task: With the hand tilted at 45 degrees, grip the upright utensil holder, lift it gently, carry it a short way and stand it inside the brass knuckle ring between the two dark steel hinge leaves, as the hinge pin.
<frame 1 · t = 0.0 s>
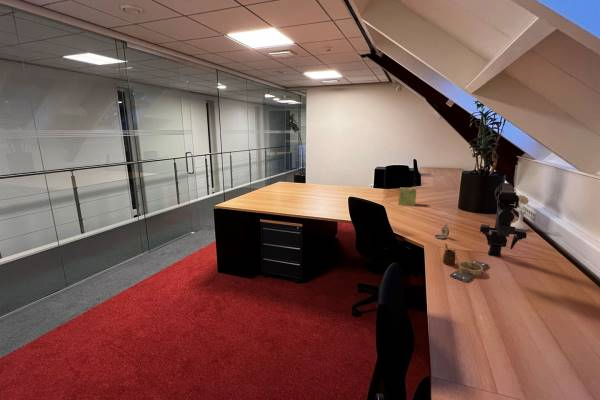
hand: (499, 247, 148), 15 cm above the table, tool pointing down, fingers open, 9 cm apart
flower in vase: (518, 229, 219), on the table
pocket watch: (441, 237, 202), on the table
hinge: (469, 271, 155), on the table
protein box: (406, 204, 292), on the table
utensil holder: (448, 263, 164), on the table
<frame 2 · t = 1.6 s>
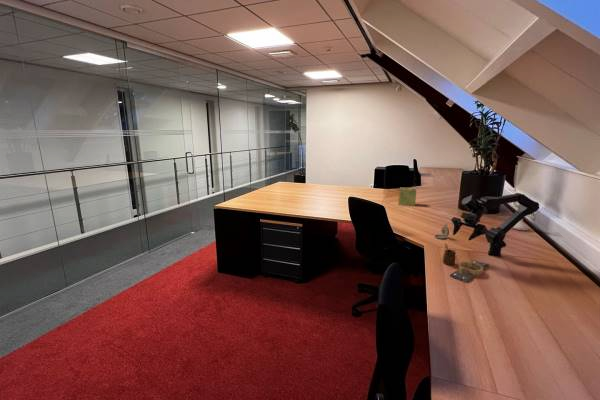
hand: (460, 237, 165), 13 cm above the table, tool tilted 45°, fingers open, 9 cm apart
nothing on the table moved.
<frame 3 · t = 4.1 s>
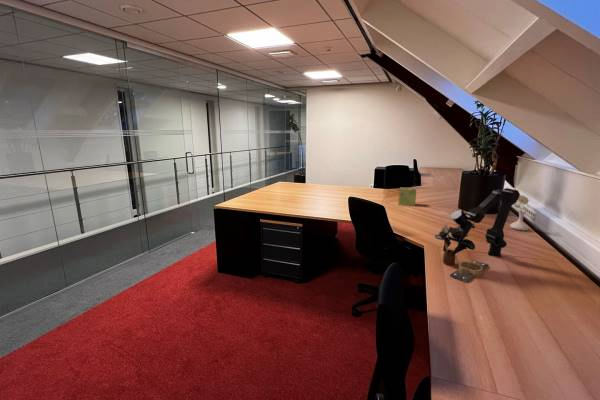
hand: (448, 252, 162), 7 cm above the table, tool tilted 45°, fingers closed on utensil holder, 5 cm apart
utensil holder: (448, 263, 164), on the table, touching gripper
everything else where it was.
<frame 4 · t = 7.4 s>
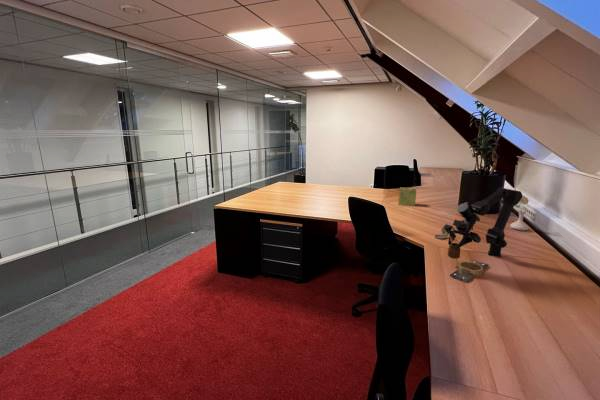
hand: (453, 245, 159), 11 cm above the table, tool tilted 45°, fingers closed on utensil holder, 5 cm apart
utensil holder: (453, 256, 162), point 4 cm above the table, touching gripper
everything else where it was.
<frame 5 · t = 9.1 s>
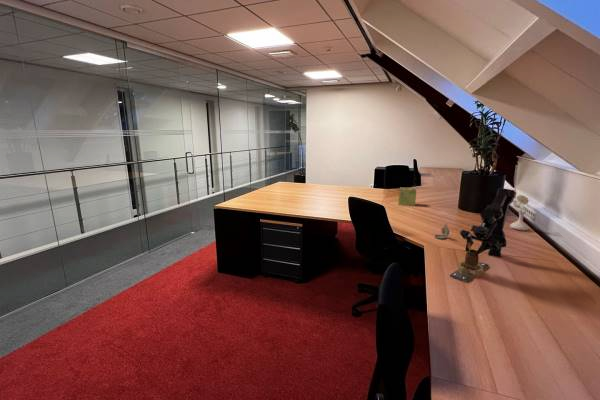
hand: (471, 252, 152), 11 cm above the table, tool tilted 45°, fingers closed on utensil holder, 5 cm apart
utensil holder: (470, 264, 154), point 4 cm above the table, touching gripper
everything else where it was.
when the fingers open (7 cm above the table, at t = 10.4 s): utensil holder stays where it is, resting in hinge.
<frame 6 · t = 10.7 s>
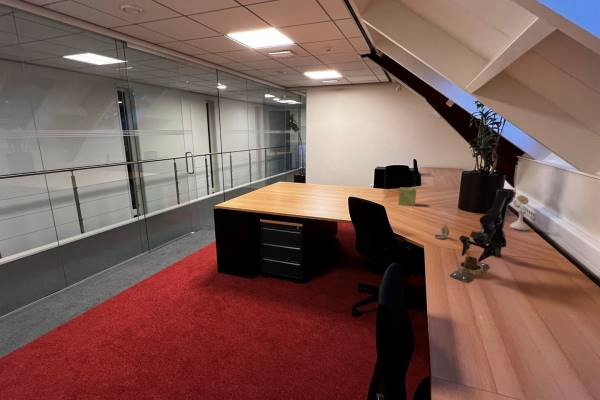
hand: (470, 258, 152), 8 cm above the table, tool tilted 45°, fingers open, 8 cm apart
utensil holder: (469, 271, 155), resting in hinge
everything else where it was.
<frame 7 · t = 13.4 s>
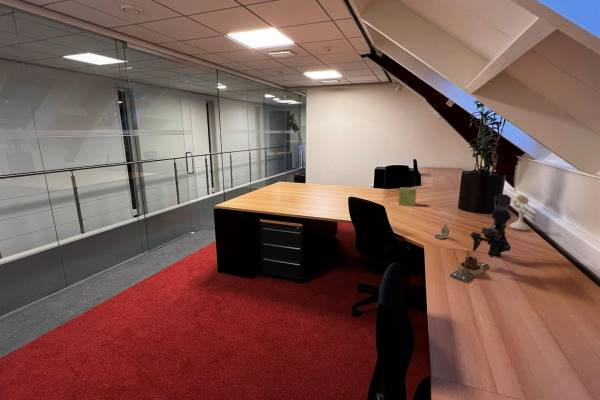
hand: (481, 254, 157), 8 cm above the table, tool tilted 45°, fingers open, 9 cm apart
nothing on the table moved.
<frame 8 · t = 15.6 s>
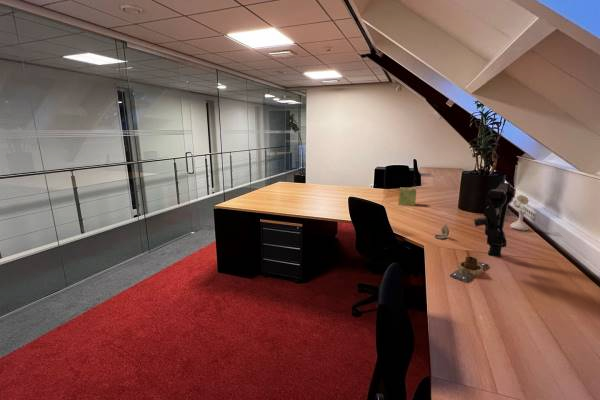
hand: (489, 242, 159), 13 cm above the table, tool pointing down, fingers open, 9 cm apart
nothing on the table moved.
at the end: utensil holder 0.4 cm off-centre on the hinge, point 0.0 cm above the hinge's base; utensil holder tilted 0°; the gripper is holding nothing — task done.
